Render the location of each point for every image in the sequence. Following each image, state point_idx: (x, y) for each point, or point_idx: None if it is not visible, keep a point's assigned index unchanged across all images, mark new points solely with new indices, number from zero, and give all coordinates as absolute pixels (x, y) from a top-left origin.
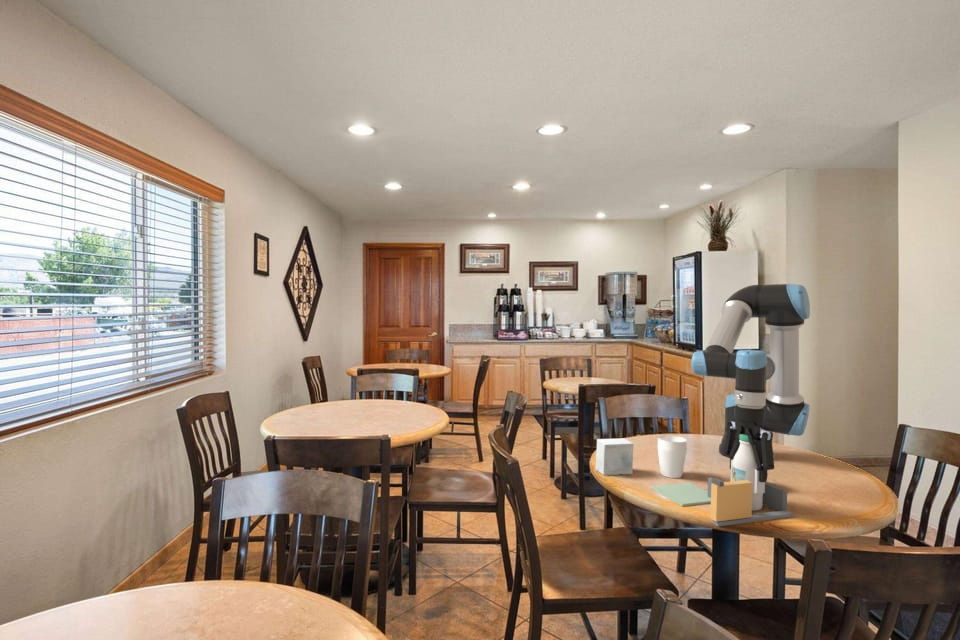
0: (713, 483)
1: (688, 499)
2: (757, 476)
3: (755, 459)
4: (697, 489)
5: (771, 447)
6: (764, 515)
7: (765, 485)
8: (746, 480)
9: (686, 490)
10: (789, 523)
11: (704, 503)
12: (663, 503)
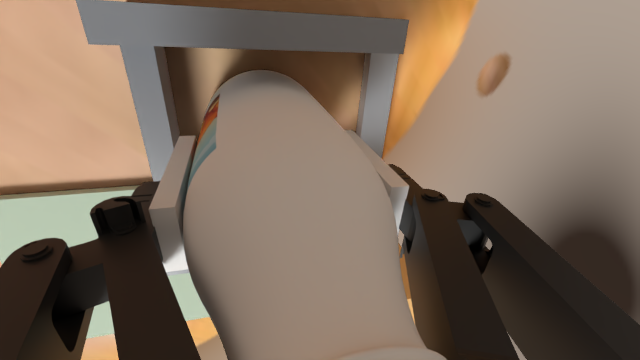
0: None
1: (194, 287)
2: None
3: (410, 287)
4: (83, 218)
5: (636, 339)
6: None
7: (290, 50)
8: (410, 302)
9: None
10: (419, 97)
11: None
12: (200, 338)
